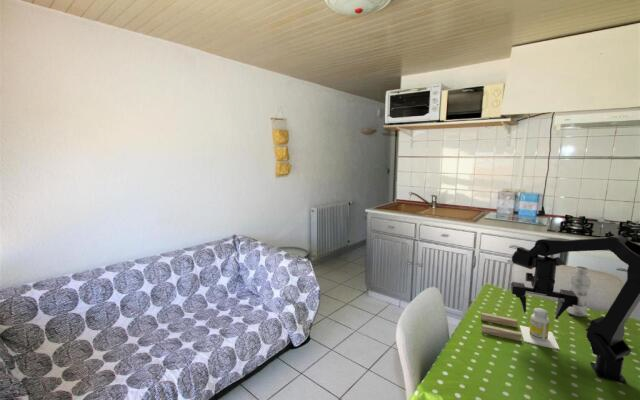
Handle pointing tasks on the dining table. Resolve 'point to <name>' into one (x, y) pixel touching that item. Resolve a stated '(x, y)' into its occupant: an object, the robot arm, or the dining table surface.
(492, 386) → the dining table surface
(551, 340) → the white square plate
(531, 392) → the dining table surface
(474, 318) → the dining table surface
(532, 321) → the supplement bottle
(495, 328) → the wooden lane
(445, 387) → the dining table surface
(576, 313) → the plastic bottle
